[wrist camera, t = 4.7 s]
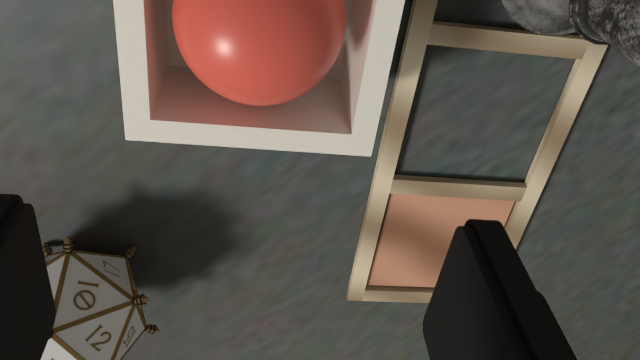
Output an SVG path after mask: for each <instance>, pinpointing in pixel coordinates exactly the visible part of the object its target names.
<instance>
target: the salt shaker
mask: <svg viewBox="0 0 640 360" xmlns="http://www.w3.org/2000/svg"><path fill="white" fill-rule="evenodd" d="M502 3H503V5H504V7H505V8H506V10H507V12H508V13H509V15H510V17H511V18H512V19H514V20H515V21H516V22H517V23H518V24H519V25H521V26H522V27H523V28H525V29H527V30H530V31H532V32H535V33H537V34H544V35H554V36H556V35H562V34H568V33H574V32H576V33H577V34H579V35H580V36H581V37H582V38H583V39H584V40H586V41H588V42H591V43H593V44H597V45H611V46H612V47H614V48H615V49H616V50H617V51H619V52H620V53H621V54H622V55H624V56H625V57H626V58H627V59H629V60H630V61H631V62H632V63H634V64H636V65H638V66H640V0H502Z"/></svg>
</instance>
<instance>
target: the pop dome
mask: <svg viewBox="0 0 640 360" xmlns="http://www.w3.org/2000/svg"><path fill="white" fill-rule="evenodd" d="M172 22H173V30H174V34H175V39H176V42H177V45H178V48H179V50H180V52H181V54H182V56H183V58H184V60H185V62H186V63H187V65H188V66H189V68H190V69H191V71H192V72H193V73H194V74H195V75H196V77H197V78H198V79H199V80H200V81H201V82H202V83H204V84H205V85H206V86H207V87H208V88H210V89H211V90H213V91H214V92H216V93H217V94H219V95H221V96H223V97H225V98H227V99H229V100H232V101H235V102H238V103H242V104H246V105H253V106H269V105H277V104H281V103H285V102H288V101H291V100H293V99H295V98H297V97H300V96H302V95H303V94H305V93H307V92H308V91H310V90H311V89H312V88H314V87H315V86H316V85H317V84H318V83H319V82H320V81H321V80H322V79H323V78H324V77H325V76H326V74H327V73H328V72H329V70H330V69H331V67H332V66H333V64H334V62H335V61H336V59H337V57H338V54H339V52H340V49H341V46H342V42H343V38H344V34H345V25H346V14H345V4H344V0H173V3H172Z"/></svg>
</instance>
